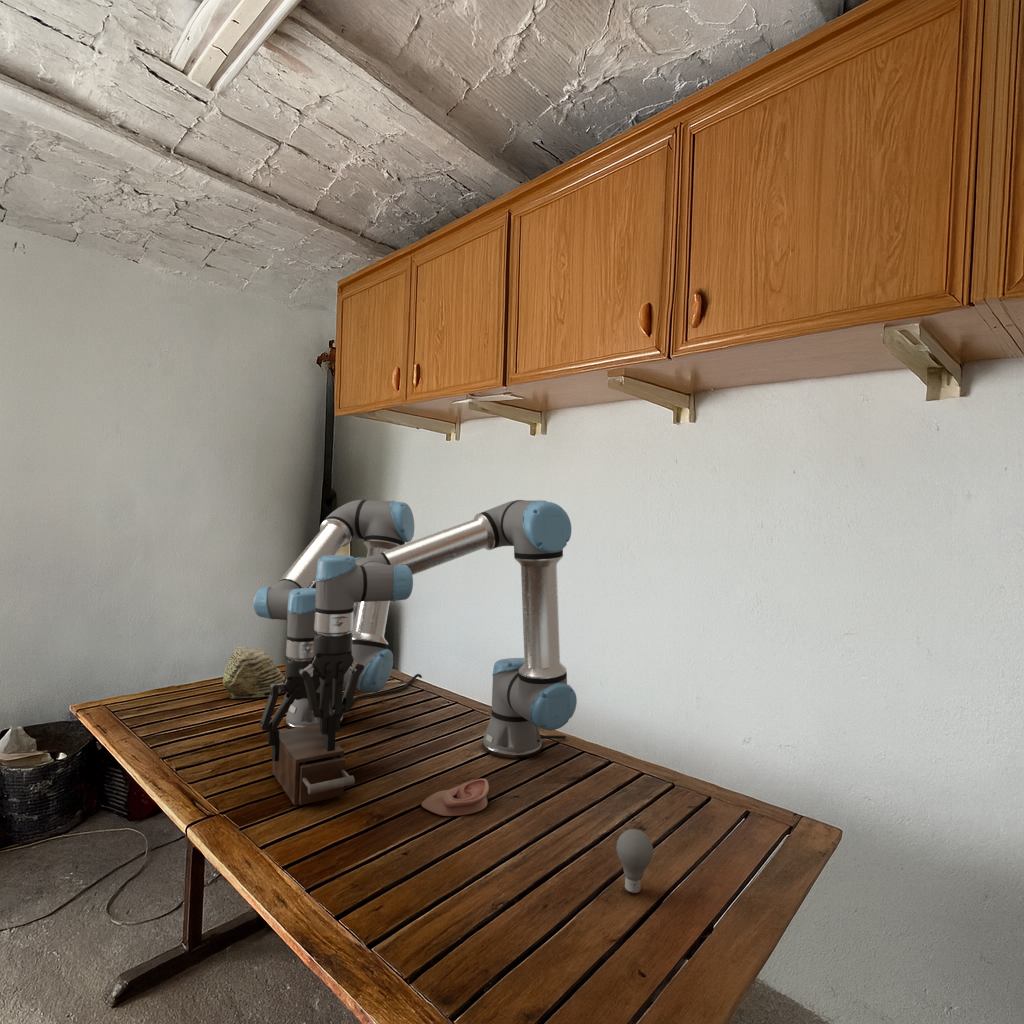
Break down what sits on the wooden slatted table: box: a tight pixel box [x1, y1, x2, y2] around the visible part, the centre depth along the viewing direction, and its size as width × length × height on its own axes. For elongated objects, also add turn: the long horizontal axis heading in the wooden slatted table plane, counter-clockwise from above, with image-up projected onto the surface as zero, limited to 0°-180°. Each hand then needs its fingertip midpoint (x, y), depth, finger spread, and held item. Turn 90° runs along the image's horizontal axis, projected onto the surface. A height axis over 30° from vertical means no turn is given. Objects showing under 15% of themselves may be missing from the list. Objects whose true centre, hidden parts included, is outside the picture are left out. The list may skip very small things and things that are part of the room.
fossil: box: [222, 646, 286, 699], centre depth 198 cm, size 9×18×15 cm, turn 132°
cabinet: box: [271, 724, 345, 806], centre depth 140 cm, size 18×10×10 cm, turn 34°
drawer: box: [299, 756, 356, 806], centre depth 135 cm, size 22×9×8 cm, turn 35°
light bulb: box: [615, 828, 654, 894], centre depth 106 cm, size 6×6×10 cm
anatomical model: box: [421, 778, 490, 817], centre depth 133 cm, size 13×4×12 cm
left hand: (299, 754), depth 144 cm, fingers closed on cabinet, 10 cm apart
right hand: (329, 748), depth 128 cm, fingers closed
